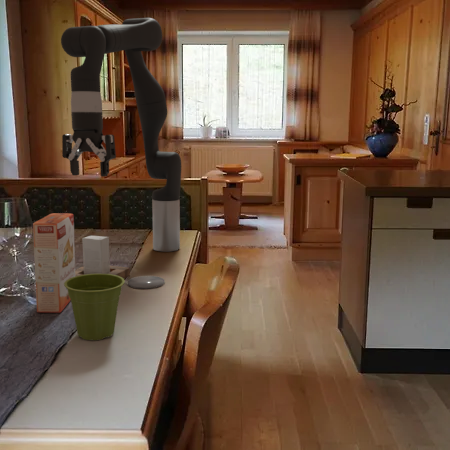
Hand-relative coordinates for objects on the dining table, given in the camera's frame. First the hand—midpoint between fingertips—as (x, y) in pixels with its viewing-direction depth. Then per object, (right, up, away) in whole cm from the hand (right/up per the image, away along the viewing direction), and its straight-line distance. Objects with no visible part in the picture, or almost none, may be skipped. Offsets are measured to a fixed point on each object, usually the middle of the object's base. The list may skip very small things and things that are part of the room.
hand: (89, 175), depth 134 cm
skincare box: (-1, -28, +11) cm, 30 cm away
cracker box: (-5, -32, -8) cm, 33 cm away
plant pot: (+8, -35, -27) cm, 45 cm away
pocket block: (-1, -28, +11) cm, 30 cm away
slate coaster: (+13, -28, +8) cm, 32 cm away
